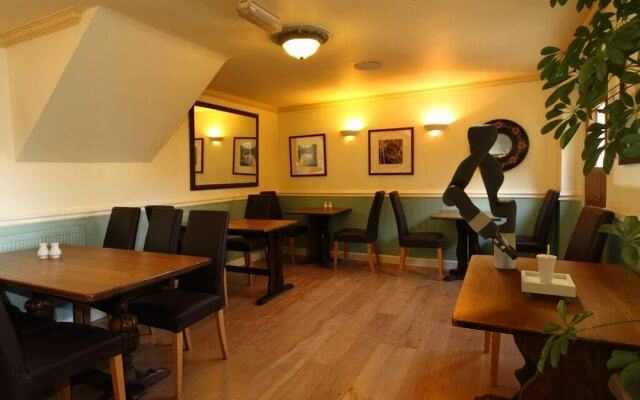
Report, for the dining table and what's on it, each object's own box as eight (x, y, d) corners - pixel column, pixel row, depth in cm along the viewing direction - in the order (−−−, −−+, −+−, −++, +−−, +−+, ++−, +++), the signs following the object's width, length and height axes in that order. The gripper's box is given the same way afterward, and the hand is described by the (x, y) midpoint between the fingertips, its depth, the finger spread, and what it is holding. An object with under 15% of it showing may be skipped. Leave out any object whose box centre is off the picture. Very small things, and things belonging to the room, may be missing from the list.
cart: (521, 285, 149) (521, 270, 149) (568, 290, 142) (569, 274, 141) (521, 299, 133) (521, 281, 133) (575, 305, 126) (575, 287, 125)
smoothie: (558, 284, 134) (560, 246, 132) (539, 284, 135) (540, 246, 134) (551, 279, 140) (552, 243, 139) (532, 278, 141) (534, 242, 140)
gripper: (489, 221, 138) (524, 253, 134) (491, 217, 151) (523, 246, 146) (474, 234, 141) (507, 266, 136) (477, 229, 154) (508, 259, 149)
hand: (516, 256), depth 141 cm, fingers open, 8 cm apart
